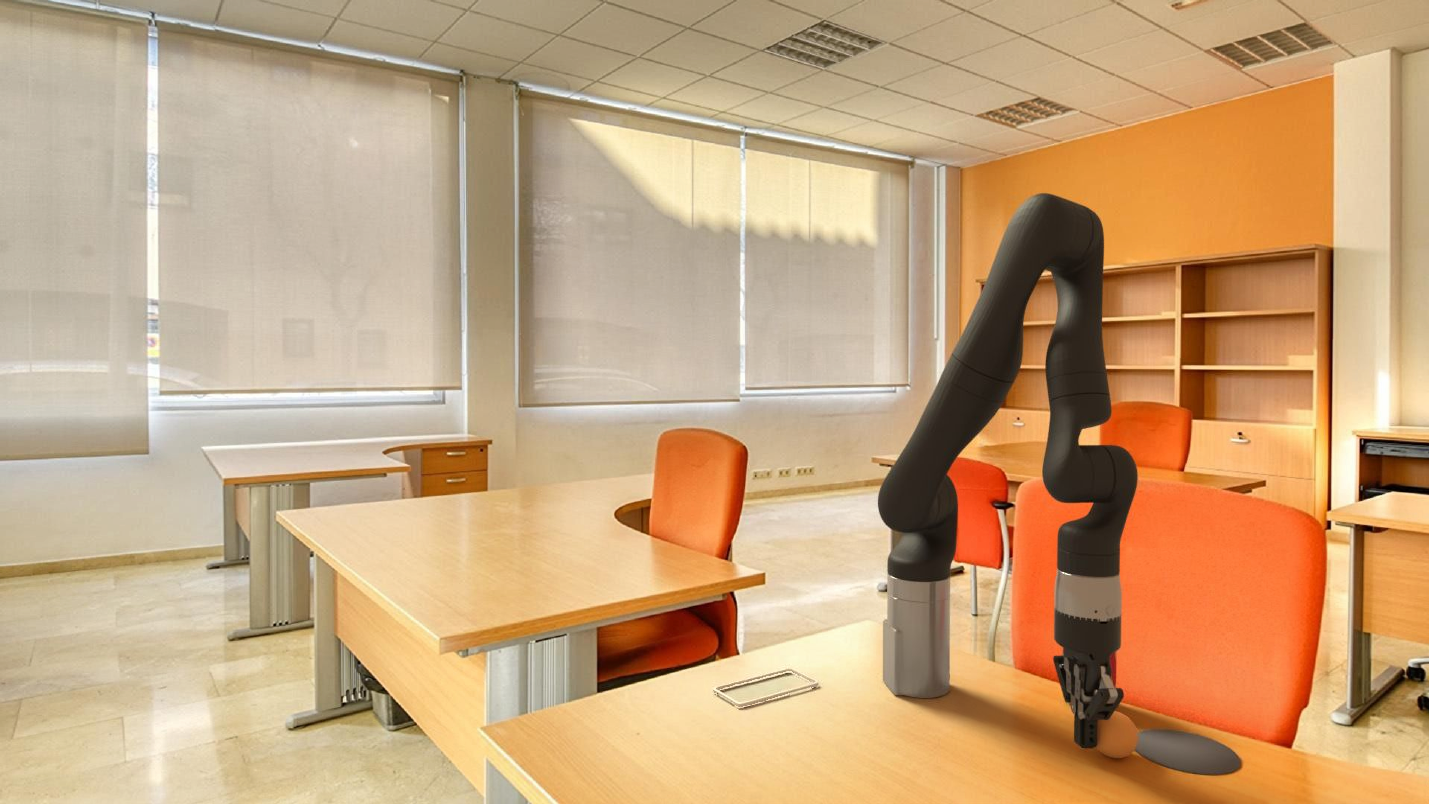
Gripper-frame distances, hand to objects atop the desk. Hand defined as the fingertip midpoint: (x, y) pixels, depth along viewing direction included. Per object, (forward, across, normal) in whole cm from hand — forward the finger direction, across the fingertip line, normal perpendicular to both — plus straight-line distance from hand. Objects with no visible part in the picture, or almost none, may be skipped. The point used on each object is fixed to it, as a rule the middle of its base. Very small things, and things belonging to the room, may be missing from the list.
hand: (1085, 745), depth 102 cm
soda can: (+2, -16, +9) cm, 18 cm away
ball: (-1, 0, +4) cm, 4 cm away
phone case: (+2, -25, -36) cm, 44 cm away
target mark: (+2, -1, +13) cm, 14 cm away
